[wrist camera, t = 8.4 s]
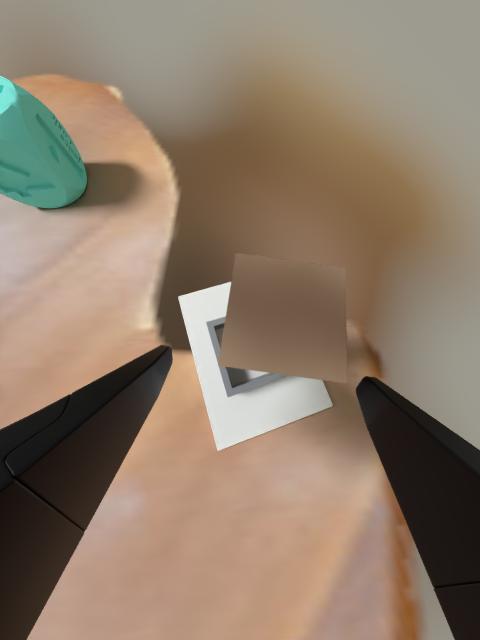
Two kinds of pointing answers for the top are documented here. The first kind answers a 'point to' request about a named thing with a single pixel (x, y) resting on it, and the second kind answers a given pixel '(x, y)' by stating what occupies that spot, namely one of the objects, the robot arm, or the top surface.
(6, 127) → the decorative dice
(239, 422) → the plate
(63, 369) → the top surface
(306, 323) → the brown wooden block
